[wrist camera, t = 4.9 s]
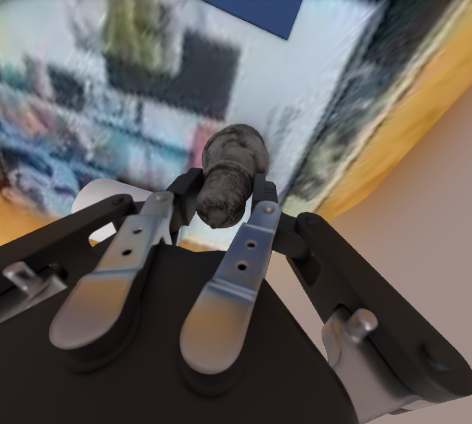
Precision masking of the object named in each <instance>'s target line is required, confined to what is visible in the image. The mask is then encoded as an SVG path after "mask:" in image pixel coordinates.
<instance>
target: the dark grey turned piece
mask: <svg viewBox="0 0 472 424" xmlns="http://www.w3.org/2000/svg"><path fill="white" fill-rule="evenodd" d="M202 166H203V170H204V174H203V187H202V189H201V190H200V192H199V194H198V196H197V199H196V203H195V206H196V211H197V214H198V216H199V217H200V218H201V220H202V221H203V222H205V223H206V224H207V225H209V226H210V227H211V228H212V229H216V228H228V227H231V226H234V225H236V224H237V223H238V222H239V221H240V220H241V219H242V217H243V215H244V213H245V207H246V201H247V200H248V199H249V198H250V196H251V195H252V192H253V185H254V176H255V173H260V174H265V177H266V175H267V173H268V168H269V156H268V152H267V150H266V147H265V144H264V141H263V139H262V137H261V136H260V134H259V133H258V132H257V131H256V130H255V129H254V128H252V127H250V126H248V125H245V124H234V125H230V126H228V127H226V128H224V129H223V130H221V131H219V132H217V133H215V134H214V135H213V136H212V137H211V138H210V139H209V140H208V141H207V143H206V145H205V147H204V149H203V153H202Z"/></svg>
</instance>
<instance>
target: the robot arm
mask: <svg viewBox="0 0 472 424" xmlns="http://www.w3.org/2000/svg"><path fill="white" fill-rule="evenodd" d="M202 187H203V169H202V168H190V170H189V171H188V172H187V173H186V174H182V175H180V176H178V177H177V178H176V179H175V181H174V182H173V183H172V184H171V185H170V186H169V187H168V188H167V189H166V190H165V191H158V192H155V193H152V194H151V195H149V196H148V198H147V200H146V201H138V202H134V200H133V198H132V196H131V195H130V194H116V195H112V196H110V197H108V198H105V199H103V200H101V201H99V202H97V203H94V204H92V205H90V206H88V207H86V208H83V209H81V210H79V211H77V212H75V213H72V214H70V215H68V216H66V217H64V218H61V219H59V220H57V221H55V222H53V223H50V224H48V225H46V226H44V227H42V228H39V229H37V230H35V231H33V232H31V233H28V234H26V235H24V236H22V237H20V238H17V239H15V240H13V241H11V242H9V243H6V244H4V245H2V246H0V424H364V423H367V422H369V421H371V420H373V419H376V418H378V417H380V416H382V415H385V414H387V413H388V414H392V415H395V414H400V413H404V412H408V411H412V410H416V409H420V408H423V407H427V406H431V405H435V404H438V403H442V402H446V401H450V400H454V399H458V398H462V397H466V396H469V395H472V370H471V368H470V366H469V365H468V363H467V362H466V360H465V359H464V358H463V357H462V355H461V354H460V353H459V352H458V351H457V350H456V349H455V348H454V347H453V346H452V345H451V344H450V343H449V342H448V341H447V340H446V339H445V338H444V337H443V336H442V335H441V334H440V333H439V332H438V331H437V330H436V329H435V328H434V327H433V326H432V325H431V324H430V323H429V322H428V321H426V319H425V318H424V317H423V316H422V315H421V314H420V313H419V312H417V310H416V309H415V308H414V307H413V306H412V305H410V303H409V302H407V300H405V299H404V298H403V297H402V296H401V295H400V294H399V293H398V292H397V291H396V290H395V289H394V288H393V287H392V286H391V285H390V284H389V283H388V282H387V281H386V280H385V279H384V278H383V277H382V276H381V275H380V274H379V273H378V272H377V271H376V270H375V269H374V268H373V267H372V266H371V265H370V264H369V263H368V262H367V261H366V260H365V259H364V258H363V257H362V256H361V255H360V254H359V253H358V252H357V251H356V250H355V249H354V248H353V247H352V246H351V245H350V244H349V243H348V242H347V241H346V240H345V239H344V238H343V237H342V236H341V235H339V233H338V232H337V231H335V230H334V228H332V227H331V226H330V225H329V224H328V223H327V222H326V221H325V220H324V219H323V218H322V217H321V216H319V215H317V214H314V213H309V212H304V213H300V214H299V215H298V216H297V218H295V217H292V216H289V215H287V214H285V213H283V212H282V208H281V206H280V205H279V204H278V198H277V190H276V185H275V184H274V183H273V182H270V181H266V179H265V174H260V173H255V176H254V185H253V194H252V204H251V214H250V218H249V220H248V222H247V223H244V222H243V223H242V225H241V226H240V228H239V230H238V232H237V234H236V236H235V237H234V239H233V241H232V243H231V245H230V247H229V248H228V250H227V251H219V250H217V251H205V252H193V251H190V250H187V249H185V248H182V247H179V246H178V245H179V240H180V235H181V229H180V227H181V226H182V225H186V226H189V224H190V222H191V220H192V218H193V216H194V214H195V212H196V206H195V203H196V199H197V196H198V194H199V192H200V190H201V189H202ZM111 222H112V224H113V226H114V228H115V230H116V233H114V234H112V235H111V236H109V237H108V238H106V239H104V240H103V241H101V242H100V243H98V244H96V245H95V246H93V247H92V246H91V244H90V243H89V237H90V235H91V234H92V233H93V232H95V231H97V230H99V229H100V228H102V227H104V226H106V225H107V224H109V223H111ZM272 250H273V251H276V252H279V253H281V254H284V255H286V259H287V261H288V263H289V264H290V266H291V268H292V269H293V271H294V273H295V275H296V276H297V278H298V280H299V282H300V283H301V285H302V287H303V289H304V290H305V292H306V294H307V295H308V297H309V299H310V301H311V302H312V304H313V306H314V307H315V309H316V311H317V313H318V314H319V316H320V318H321V320H322V321H323V323H324V326H323V328H322V341H323V343H324V346H325V349H326V351H327V355H328V362H327V361H326V359H325V358H324V356H323V355H322V354H321V352H320V351H319V350H318V349H317V347H316V346H315V345H314V344H313V342H312V341H311V339H310V338H309V337H308V335H307V334H306V333H305V331H304V330H303V329H302V327H301V326H300V325H299V323H298V322H297V321H296V319H295V318H294V317H293V315H292V314H291V313H290V311H289V310H288V309H287V307H286V306H285V305H284V303H283V302H282V301H281V299H280V298H279V297H278V295H277V294H276V293H275V291H274V290H273V289H272V288H271V286H270V285H269V284H268V282H267V281H266V280H265V277H266V273H267V269H268V265H269V261H270V257H271V254H272ZM49 265H50V266H49Z"/></svg>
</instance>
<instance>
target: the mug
mask: <svg viewBox="0 0 472 424" xmlns="http://www.w3.org/2000/svg"><path fill="white" fill-rule="evenodd" d="M152 193H153V192H150V191H147V190H143V189H140V188H137V187H134V186H131V185H128V184H124V183H121V182H118V181H115V180H112V179H109V178H99V179H96V180H94V181H92V182H90V183H89V184H87V185H86V186H85V187H84V188H83V189H82V190H81V191H80V193H79V194H78V195H77V197H76V199H75V201H74V203H73V206H72V209H71V214H72V213H75V212H77V211H79V210H81V209H83V208H86V207H88V206H90V205H92V204H94V203H97V202H99V201H101V200H103V199H105V198H108V197H110V196H112V195H116V194H130V195H131V196H132V198H133V200H134V202H138V201H146V200H147V198H148V196H149V195H151V194H152ZM114 233H116V230H115V228H114V226H113V224H112V222H111V223H109V224H107V225H106V226H104V227H102V228H100V229H99V230H97V231H95V232H93V233H92V234H91V235H90V237H89V239H92V240H95V241H99V242H101V241H103V240H104V239H106V238H108V237H109V236H111V235H112V234H114Z"/></svg>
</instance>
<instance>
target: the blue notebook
mask: <svg viewBox="0 0 472 424" xmlns="http://www.w3.org/2000/svg"><path fill="white" fill-rule="evenodd" d="M203 1H205V2H207V3H209V4H211V5H213V6H215V7H218V8H220V9H222V10H224V11H226V12H228V13H230V14H232V15H235V16H237V17H239V18H241V19H243V20H245V21H247V22H249V23H251V24H254V25H256V26H258V27H260V28H262V29H264V30H266V31H268V32H270V33H273V34H275V35H277V36H279V37H281V38H283V39H285V40H287V39H288V36H289V34H290V31H291V29H292V26H293V23H294V21H295V18H296V15H297V13H298V10H299V7H300V5H301V2H302V0H203Z"/></svg>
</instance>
